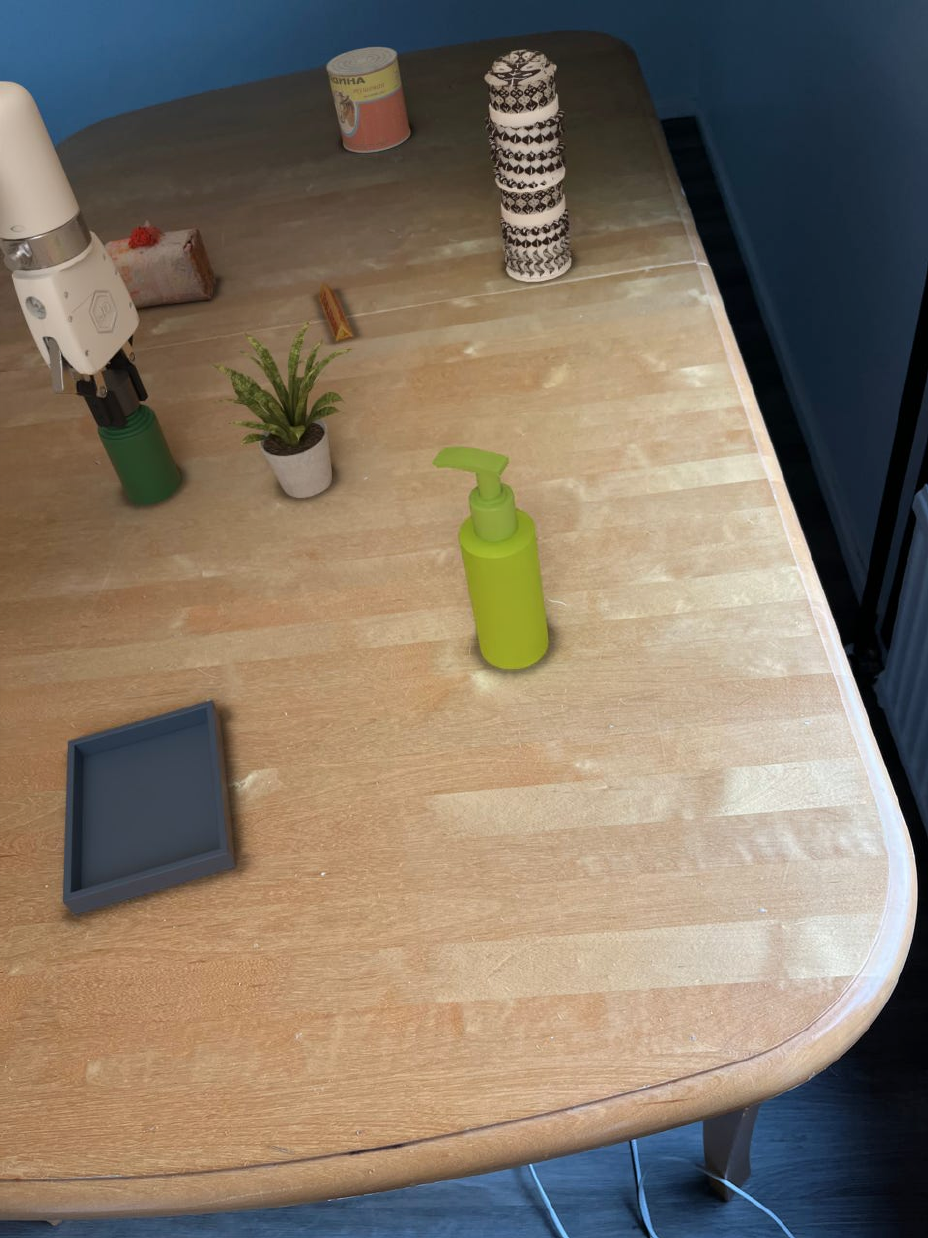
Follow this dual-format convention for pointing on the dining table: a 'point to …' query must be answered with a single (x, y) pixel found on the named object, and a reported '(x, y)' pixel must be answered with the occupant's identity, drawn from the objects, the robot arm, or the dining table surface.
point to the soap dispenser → (500, 563)
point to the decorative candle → (529, 164)
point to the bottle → (142, 457)
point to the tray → (146, 808)
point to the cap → (122, 389)
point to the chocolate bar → (334, 313)
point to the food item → (163, 266)
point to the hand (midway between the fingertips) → (123, 410)
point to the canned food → (369, 99)
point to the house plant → (289, 418)
